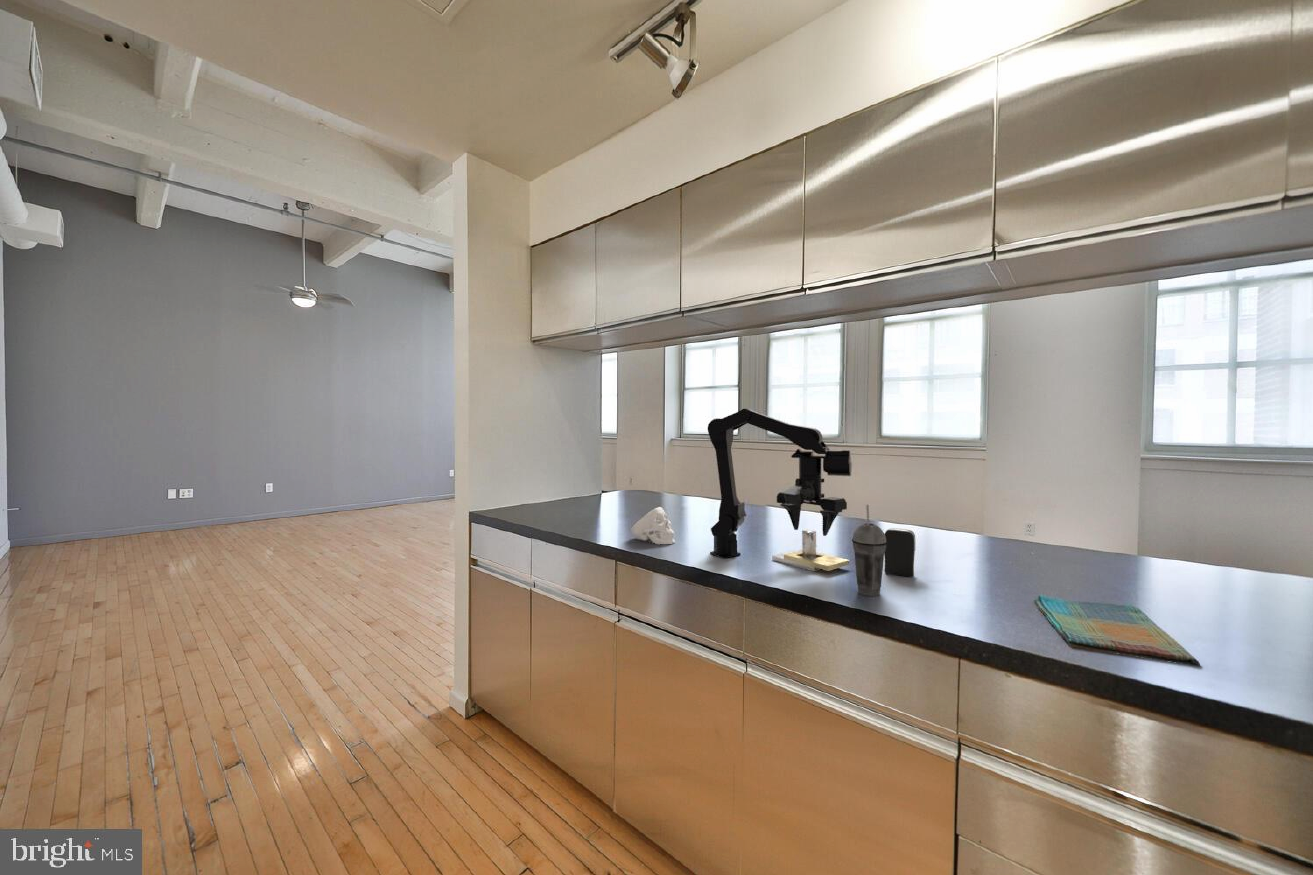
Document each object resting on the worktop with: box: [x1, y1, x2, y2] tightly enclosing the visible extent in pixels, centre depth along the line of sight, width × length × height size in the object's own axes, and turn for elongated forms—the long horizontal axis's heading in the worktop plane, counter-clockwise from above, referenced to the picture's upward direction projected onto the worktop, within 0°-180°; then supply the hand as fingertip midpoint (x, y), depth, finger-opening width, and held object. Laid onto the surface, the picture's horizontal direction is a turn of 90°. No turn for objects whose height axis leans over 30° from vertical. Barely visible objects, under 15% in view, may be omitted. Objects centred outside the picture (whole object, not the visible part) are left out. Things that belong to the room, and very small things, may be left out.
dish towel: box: [1033, 594, 1201, 667], centre depth 92 cm, size 17×23×2 cm
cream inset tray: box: [771, 549, 850, 573], centre depth 135 cm, size 18×9×2 cm, turn 36°
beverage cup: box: [851, 504, 887, 597], centre depth 112 cm, size 7×7×20 cm
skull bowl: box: [630, 506, 676, 545], centre depth 163 cm, size 10×14×12 cm
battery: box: [883, 527, 916, 578], centre depth 126 cm, size 7×4×11 cm, turn 55°
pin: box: [801, 529, 817, 559], centre depth 135 cm, size 4×4×9 cm
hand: (810, 532), depth 135 cm, fingers open, 9 cm apart
